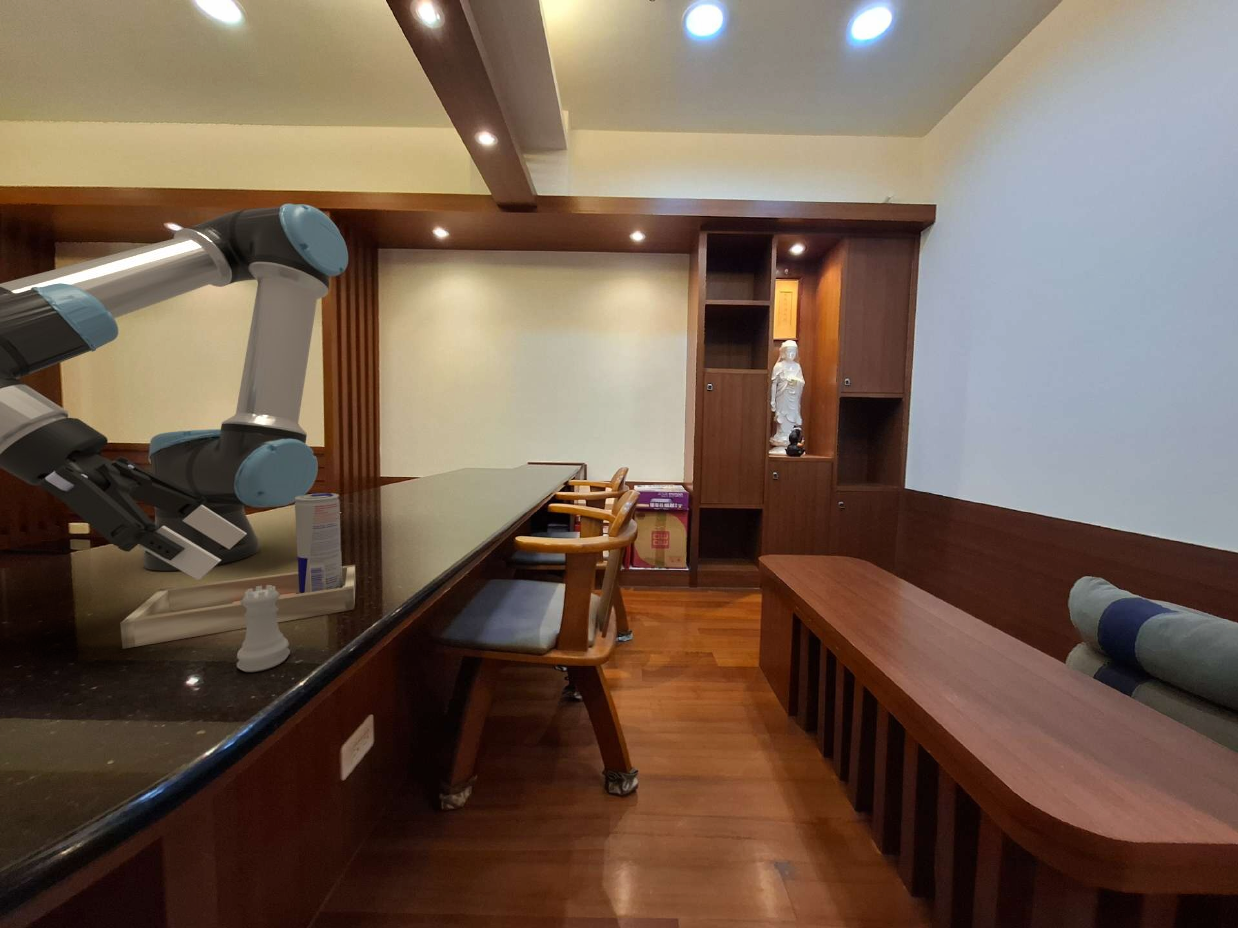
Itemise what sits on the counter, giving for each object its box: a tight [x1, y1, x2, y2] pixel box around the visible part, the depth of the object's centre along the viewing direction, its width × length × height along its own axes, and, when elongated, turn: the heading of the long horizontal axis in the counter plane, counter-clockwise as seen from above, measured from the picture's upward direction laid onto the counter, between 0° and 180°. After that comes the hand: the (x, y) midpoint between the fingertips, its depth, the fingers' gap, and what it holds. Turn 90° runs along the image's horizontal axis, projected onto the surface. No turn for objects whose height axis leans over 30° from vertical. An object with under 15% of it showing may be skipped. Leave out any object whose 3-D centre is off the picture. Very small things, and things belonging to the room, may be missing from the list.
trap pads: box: [231, 593, 296, 604], centre depth 58 cm, size 8×7×1 cm
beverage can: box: [294, 492, 343, 594], centre depth 61 cm, size 5×5×15 cm
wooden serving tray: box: [120, 564, 357, 650], centre depth 58 cm, size 11×22×3 cm, turn 120°
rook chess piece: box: [236, 585, 291, 673], centre depth 46 cm, size 4×4×8 cm
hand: (226, 554), depth 56 cm, fingers open, 13 cm apart
